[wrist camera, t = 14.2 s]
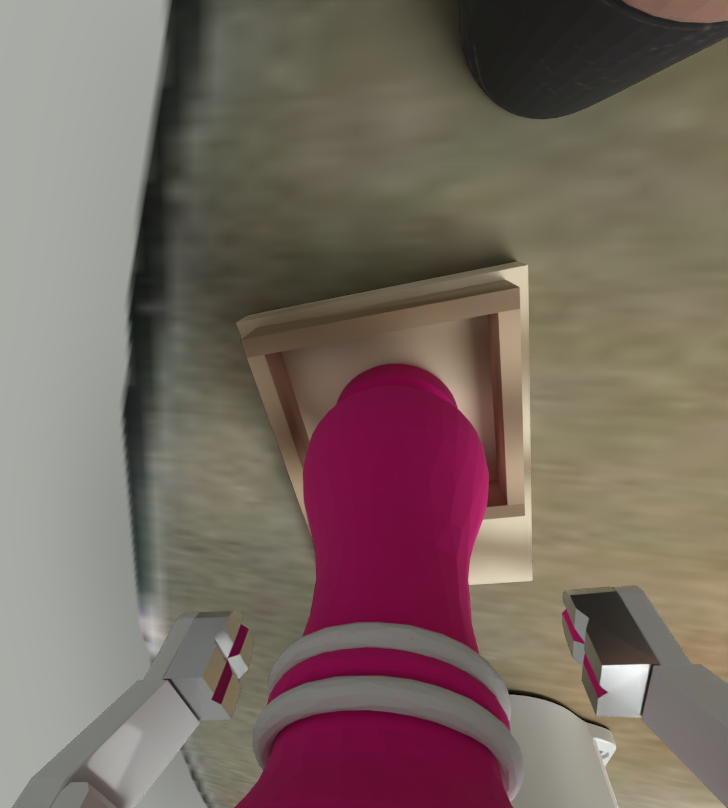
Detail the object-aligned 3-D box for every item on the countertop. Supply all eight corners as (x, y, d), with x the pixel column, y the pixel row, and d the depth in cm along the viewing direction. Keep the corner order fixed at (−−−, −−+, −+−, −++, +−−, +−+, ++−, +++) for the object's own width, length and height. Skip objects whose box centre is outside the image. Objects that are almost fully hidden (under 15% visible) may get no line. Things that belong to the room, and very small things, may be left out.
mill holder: (524, 560, 24) (543, 610, 21) (336, 574, 27) (327, 622, 23) (517, 261, 16) (545, 270, 13) (247, 315, 19) (217, 334, 15)
